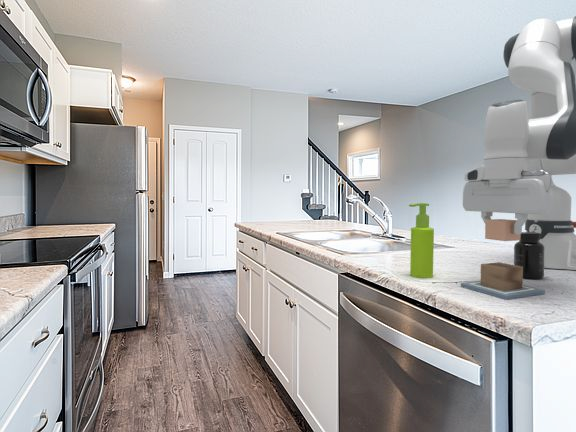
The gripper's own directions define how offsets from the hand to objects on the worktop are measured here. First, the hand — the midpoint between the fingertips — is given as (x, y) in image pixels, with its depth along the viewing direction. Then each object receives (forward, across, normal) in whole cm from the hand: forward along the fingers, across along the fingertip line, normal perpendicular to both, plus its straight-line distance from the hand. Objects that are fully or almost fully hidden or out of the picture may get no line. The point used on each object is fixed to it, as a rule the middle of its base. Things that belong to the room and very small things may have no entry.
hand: (502, 232), depth 84 cm
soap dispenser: (+14, +19, +7) cm, 24 cm away
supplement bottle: (+14, +7, -19) cm, 25 cm away
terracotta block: (+2, 0, 0) cm, 2 cm away
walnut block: (+13, 0, 0) cm, 13 cm away
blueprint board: (+14, 0, 0) cm, 14 cm away
